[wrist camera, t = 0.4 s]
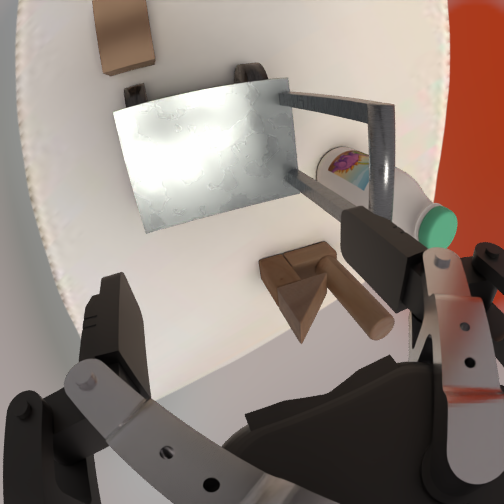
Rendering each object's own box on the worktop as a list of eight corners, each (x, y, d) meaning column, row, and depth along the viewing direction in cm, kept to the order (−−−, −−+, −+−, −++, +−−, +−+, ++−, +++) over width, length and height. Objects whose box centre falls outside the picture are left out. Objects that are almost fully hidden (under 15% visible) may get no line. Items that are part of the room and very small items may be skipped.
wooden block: (258, 259, 45) (315, 347, 31) (325, 239, 48) (399, 311, 33) (260, 279, 47) (314, 368, 32) (325, 260, 49) (394, 334, 35)
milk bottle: (357, 197, 46) (455, 263, 29) (312, 199, 44) (408, 275, 27) (363, 146, 42) (475, 195, 25) (317, 145, 40) (428, 196, 23)
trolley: (118, 91, 29) (64, 90, 10) (258, 63, 32) (396, 47, 13) (150, 218, 38) (163, 363, 18) (274, 186, 41) (389, 287, 21)
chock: (100, 14, 24) (92, 0, 19) (144, 2, 25) (143, -13, 20) (110, 76, 28) (103, 73, 23) (154, 64, 29) (155, 58, 24)
